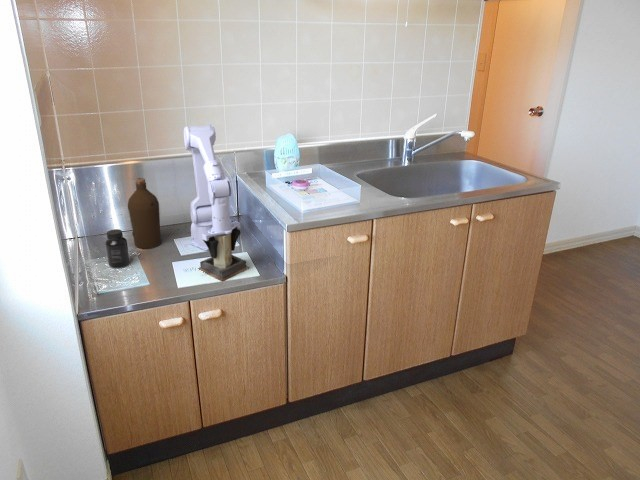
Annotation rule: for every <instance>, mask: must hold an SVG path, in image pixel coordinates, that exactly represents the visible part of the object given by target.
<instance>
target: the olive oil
mask: <svg viewBox="0 0 640 480" xmlns="http://www.w3.org/2000/svg"><path fill="white" fill-rule="evenodd" d="M135 186H136V187H135V188H136V189H135V191H134V192H133V193H132V194H131V196H130V197H129V199H128V201H127V210H128V215H129V216H128V217H129V219H130V225H131V226H130V227H131V231H132V237H133V241H134V242H133V244H134V246H135V247H136V248H138V249H142V250H143V249H145V250H147V249H155V248H156V247H158V246H160V245H161V244H162V235H161V221H160V220H161V219H160V218H161V216H160V203H159V200H158V198H157V196H156V195H154V193H152V192H151V191H150V190H148V189H147V183H146V179H145V177H138V178H135Z"/></svg>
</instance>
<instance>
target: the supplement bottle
mask: <svg viewBox="0 0 640 480" xmlns="http://www.w3.org/2000/svg"><path fill="white" fill-rule="evenodd" d="M106 237H107V238H106V240H105V242H104V244H105V245H104V246H105V252H106V257H107V264H108V266H109V267H110V268H112V269H121V268H125V267H127V266H129V264H130V254H129V247H128V240H127V238H125V237H124V235H123V230H122V229H119V228H118V229H116V228H115V229H110V230H108V231H107V232H106Z"/></svg>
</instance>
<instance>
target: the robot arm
mask: <svg viewBox="0 0 640 480" xmlns="http://www.w3.org/2000/svg"><path fill="white" fill-rule="evenodd" d="M215 129H216V128H215V127H214V126H213V125H212V124H209V125H194V126H193V125H192V126H191V125H190V126H188V125H186V126H184V128H183V140H184V147H185V150H186V151H189V152H190V154H191V157H192V163H193V171H194V173H193V174H194V180H195V188H196V189H195V190H196V197H195V198H194V199H193V200H191V202H190V204H189V205H190V206H189V207H190V211H189V212H190V219H191V226H190V236H191V241H190V242H189V244H190V245H192V246H195V247H196V248H198V249H200V250H203V251H208V252H209V254H210V258H211V257H213V258H217V246H218V242H219V241H217V240H215V238H214V237H215V236H216V235H221V234H229V233H231V248H232V252H233V251H235V250H236V249H235V248H236V244H237V241H238V238H239V237H240V235H241V233H242V232H241V230H240V228H241V223H240V222H239V221H237V220H235V221H233V222H231V212H230V211H231V210H230V209H231V208H230V197H231V196H232V184H231V181H230V179H229V178H228V176H227V175H225V173H224V169H223V166H222V164H221V162H220V161H218V160H217V159H216V155H215V150H214V146H215V142H216V140H217V139H216V138H217V135H216V130H215Z"/></svg>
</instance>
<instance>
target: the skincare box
mask: <svg viewBox="0 0 640 480" xmlns="http://www.w3.org/2000/svg"><path fill="white" fill-rule="evenodd" d="M214 238H215V240H217V241H219V242H218V246H217V258H214V266H215V267H218V268H220V269H222V270H223V269H225V268H227V267H229V266H230V265H231V264H232V255H233V254H232V253H233V251H232V248H231V233H229V234H221V235H216V236H215V237H214Z"/></svg>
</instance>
